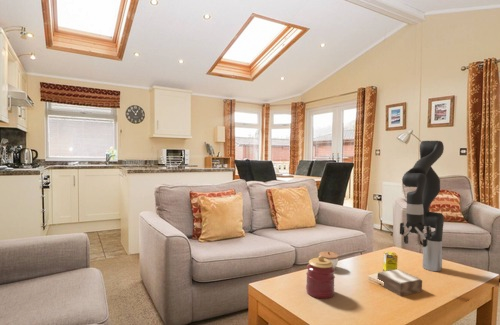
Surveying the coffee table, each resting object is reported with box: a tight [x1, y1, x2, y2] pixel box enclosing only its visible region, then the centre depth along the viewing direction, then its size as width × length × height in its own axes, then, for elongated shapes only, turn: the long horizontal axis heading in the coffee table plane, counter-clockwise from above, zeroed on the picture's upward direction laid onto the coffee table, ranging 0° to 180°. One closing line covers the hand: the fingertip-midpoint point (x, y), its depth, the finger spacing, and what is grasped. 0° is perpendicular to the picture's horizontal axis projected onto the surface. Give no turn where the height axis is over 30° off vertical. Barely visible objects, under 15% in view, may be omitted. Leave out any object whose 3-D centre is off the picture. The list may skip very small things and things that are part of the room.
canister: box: [305, 255, 336, 300], centre depth 140 cm, size 13×13×18 cm
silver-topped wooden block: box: [377, 268, 423, 297], centre depth 148 cm, size 14×14×6 cm
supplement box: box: [382, 251, 399, 272], centre depth 167 cm, size 6×6×11 cm
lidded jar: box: [318, 251, 339, 268], centre depth 172 cm, size 11×11×9 cm
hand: (415, 245), depth 150 cm, fingers open, 8 cm apart
